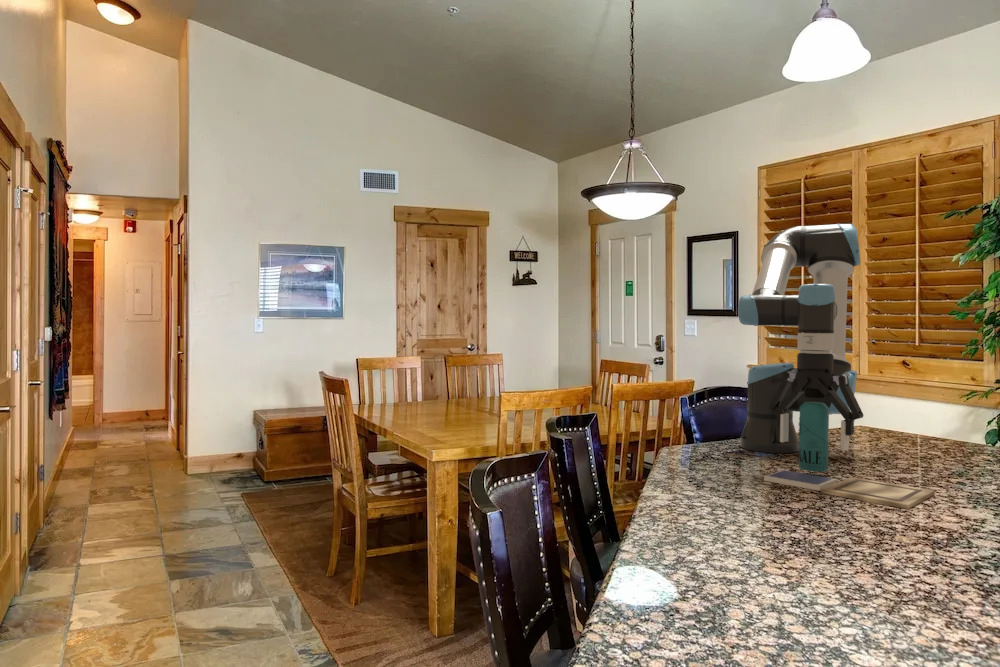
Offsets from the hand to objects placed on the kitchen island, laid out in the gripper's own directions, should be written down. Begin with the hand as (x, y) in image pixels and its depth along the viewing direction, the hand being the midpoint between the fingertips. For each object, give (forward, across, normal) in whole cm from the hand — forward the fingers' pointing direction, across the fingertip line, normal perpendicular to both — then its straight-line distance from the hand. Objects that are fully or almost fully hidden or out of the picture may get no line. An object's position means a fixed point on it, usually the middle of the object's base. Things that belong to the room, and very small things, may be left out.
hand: (813, 445), depth 159 cm
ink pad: (+7, +1, -9) cm, 11 cm away
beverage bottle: (+7, 0, 0) cm, 7 cm away
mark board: (+7, +16, -7) cm, 19 cm away
